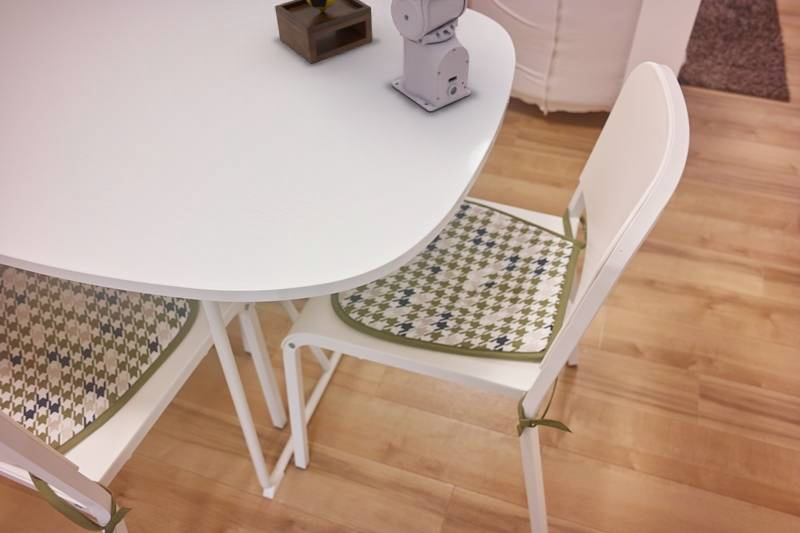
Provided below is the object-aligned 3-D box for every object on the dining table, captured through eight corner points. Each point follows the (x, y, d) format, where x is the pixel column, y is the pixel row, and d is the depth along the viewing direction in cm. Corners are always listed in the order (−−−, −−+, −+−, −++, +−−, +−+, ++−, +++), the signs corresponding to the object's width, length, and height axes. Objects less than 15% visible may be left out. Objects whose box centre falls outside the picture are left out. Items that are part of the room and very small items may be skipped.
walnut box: (372, 41, 102) (371, 7, 98) (311, 63, 97) (307, 28, 93) (339, 20, 108) (337, -14, 103) (280, 40, 103) (274, 5, 98)
